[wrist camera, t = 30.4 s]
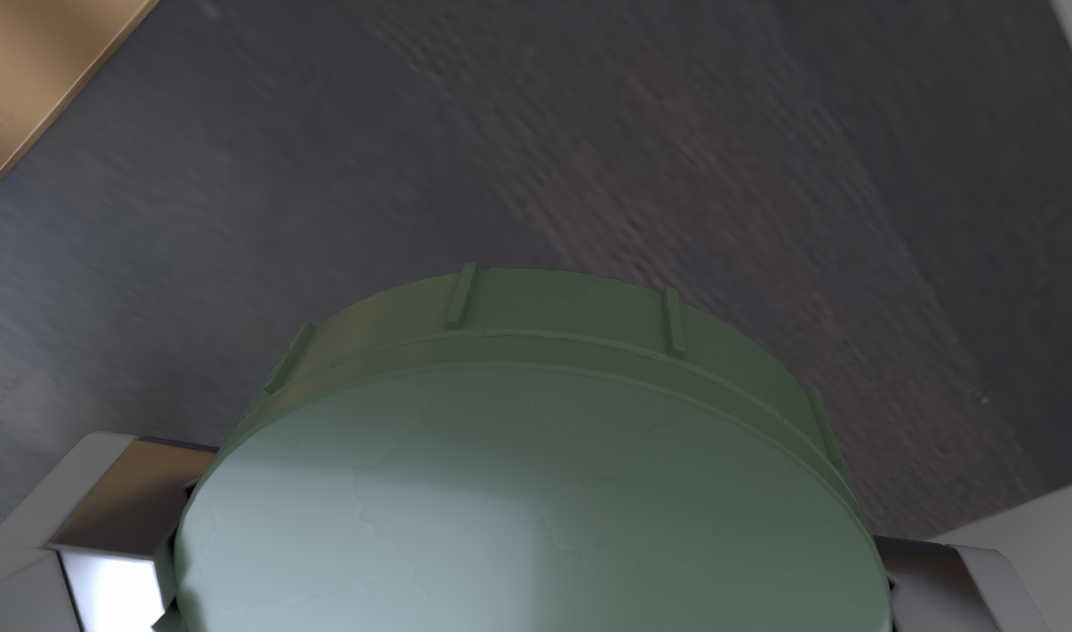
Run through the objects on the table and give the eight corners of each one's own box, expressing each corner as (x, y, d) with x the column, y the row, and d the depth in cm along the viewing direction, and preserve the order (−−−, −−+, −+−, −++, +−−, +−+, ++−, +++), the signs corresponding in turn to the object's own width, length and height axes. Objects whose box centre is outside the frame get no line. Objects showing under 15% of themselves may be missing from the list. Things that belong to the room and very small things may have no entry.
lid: (266, 665, 10) (216, 783, 9) (199, 219, 7) (101, 308, 5) (757, 732, 10) (778, 862, 9) (950, 314, 7) (1033, 430, 5)
